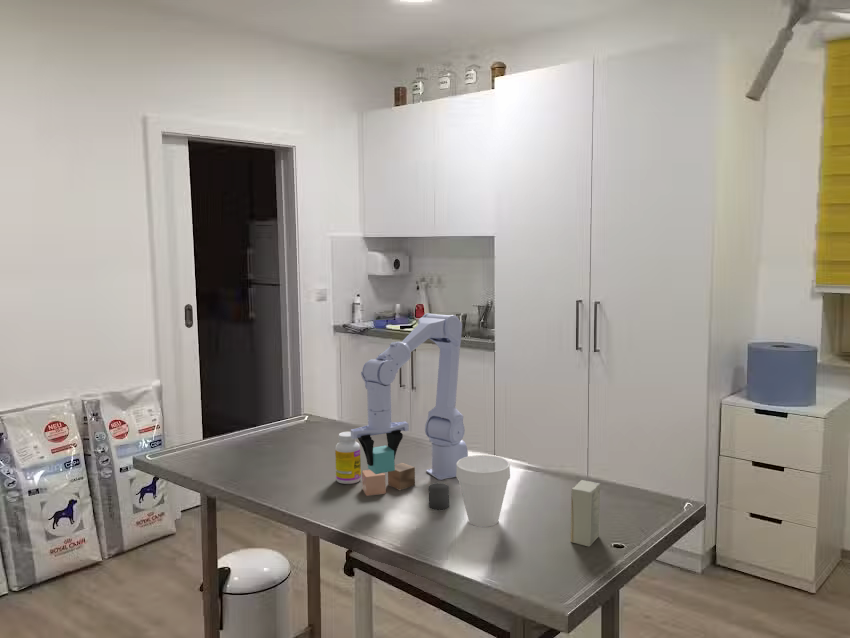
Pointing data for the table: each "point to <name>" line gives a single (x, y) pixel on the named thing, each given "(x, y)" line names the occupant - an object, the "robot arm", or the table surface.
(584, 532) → the skincare box
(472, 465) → the cup
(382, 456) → the teal cube
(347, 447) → the supplement bottle
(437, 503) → the dark grey cylinder
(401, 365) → the robot arm
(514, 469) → the table surface
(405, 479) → the walnut cube
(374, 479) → the terracotta cube
